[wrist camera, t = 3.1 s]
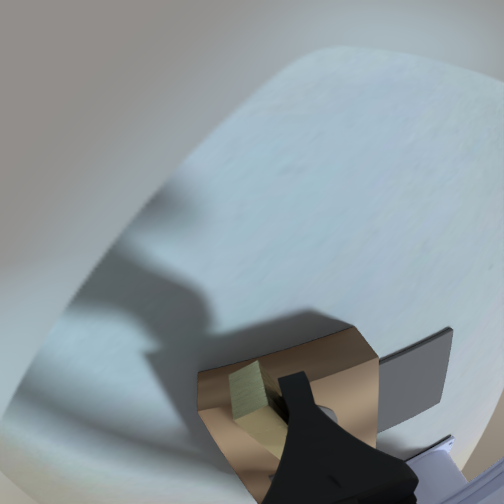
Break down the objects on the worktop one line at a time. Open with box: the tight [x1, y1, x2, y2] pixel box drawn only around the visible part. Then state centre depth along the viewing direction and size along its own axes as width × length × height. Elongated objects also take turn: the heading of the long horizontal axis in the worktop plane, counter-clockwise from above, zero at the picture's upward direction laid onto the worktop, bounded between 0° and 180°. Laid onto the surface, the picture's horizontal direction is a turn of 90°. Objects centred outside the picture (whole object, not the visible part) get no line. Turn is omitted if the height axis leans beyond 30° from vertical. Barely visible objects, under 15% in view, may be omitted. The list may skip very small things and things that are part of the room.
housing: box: [197, 326, 379, 504], centre depth 17 cm, size 13×9×3 cm
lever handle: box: [229, 360, 289, 460], centre depth 12 cm, size 7×2×3 cm, turn 30°
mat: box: [377, 328, 453, 433], centre depth 19 cm, size 8×7×1 cm
